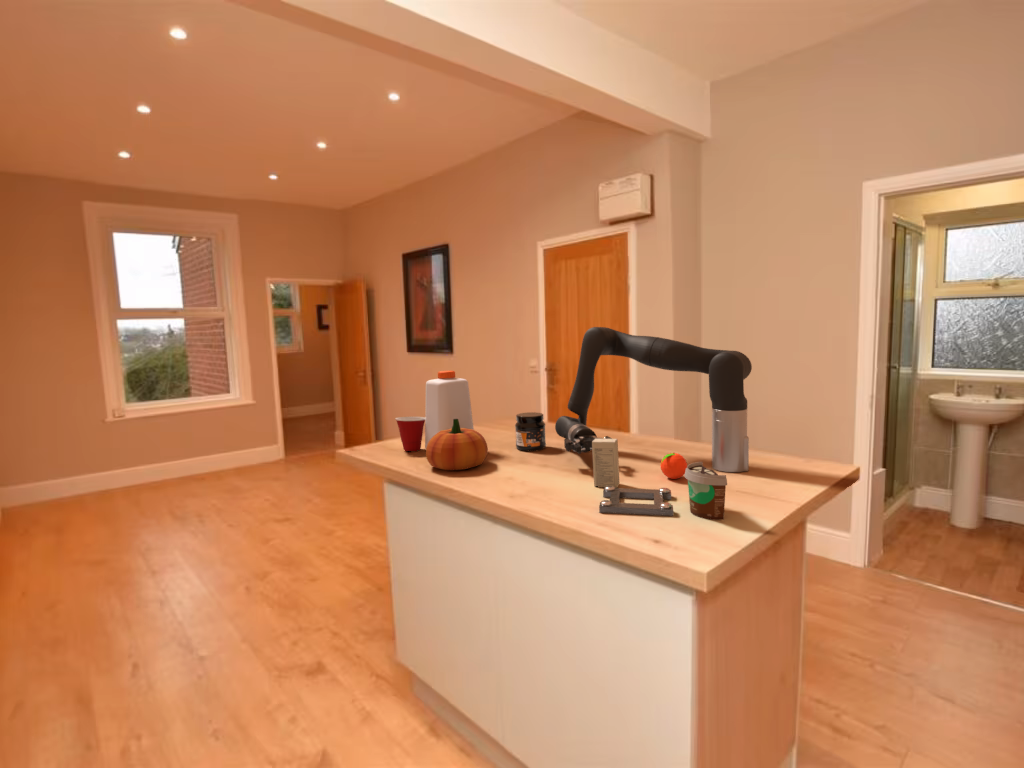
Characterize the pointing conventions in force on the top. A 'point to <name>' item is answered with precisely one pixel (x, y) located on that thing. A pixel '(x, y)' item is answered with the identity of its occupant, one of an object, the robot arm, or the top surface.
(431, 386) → the plastic bottle
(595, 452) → the skincare box
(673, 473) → the clementine
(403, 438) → the plastic cup
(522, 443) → the supplement container
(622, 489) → the grey rectangular frame
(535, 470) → the top surface
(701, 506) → the food container
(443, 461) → the pumpkin
